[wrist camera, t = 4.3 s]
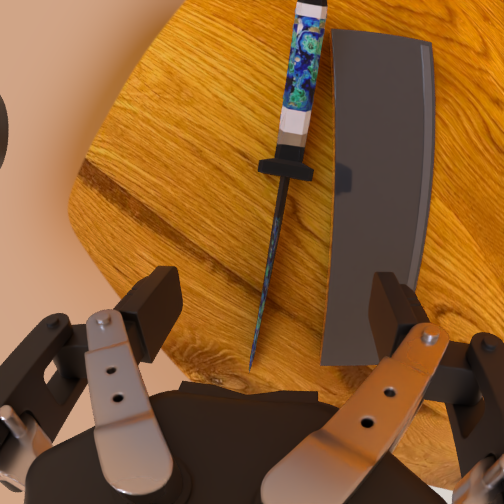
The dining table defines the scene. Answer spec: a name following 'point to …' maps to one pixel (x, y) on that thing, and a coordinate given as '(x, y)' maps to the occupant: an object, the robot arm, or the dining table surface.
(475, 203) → the dining table surface
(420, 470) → the dining table surface
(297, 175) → the knife
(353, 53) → the slate board
